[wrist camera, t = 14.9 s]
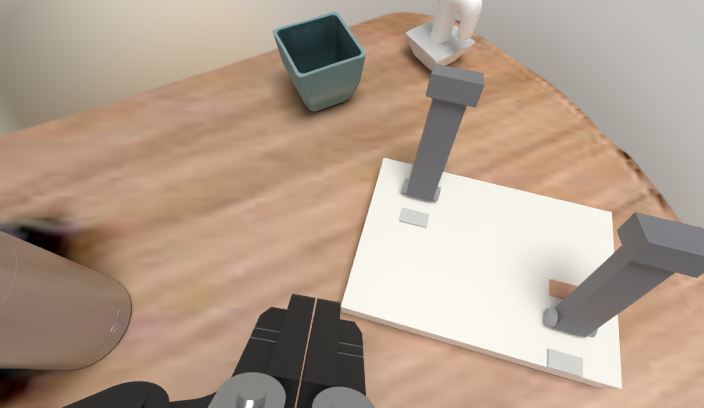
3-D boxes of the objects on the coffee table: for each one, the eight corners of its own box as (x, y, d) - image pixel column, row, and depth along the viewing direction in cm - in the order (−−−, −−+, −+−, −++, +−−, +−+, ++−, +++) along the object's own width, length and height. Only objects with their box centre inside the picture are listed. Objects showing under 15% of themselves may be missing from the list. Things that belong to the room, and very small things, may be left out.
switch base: (341, 312, 36) (340, 306, 34) (381, 171, 44) (384, 156, 41) (600, 388, 34) (624, 389, 31) (594, 223, 41) (613, 211, 38)
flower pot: (364, 107, 49) (368, 53, 41) (306, 128, 47) (298, 77, 39) (338, 66, 52) (336, 9, 44) (283, 84, 51) (271, 29, 43)
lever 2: (543, 333, 32) (648, 242, 22) (539, 306, 34) (635, 212, 24) (592, 347, 32) (722, 260, 22) (586, 319, 34) (702, 228, 24)
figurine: (436, 87, 51) (468, -18, 37) (396, 49, 54) (413, -59, 41) (472, 67, 53) (515, -39, 39) (432, 32, 56) (459, -77, 43)
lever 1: (398, 198, 38) (431, 73, 29) (401, 183, 40) (433, 63, 31) (437, 207, 38) (484, 84, 29) (439, 192, 40) (483, 73, 31)
